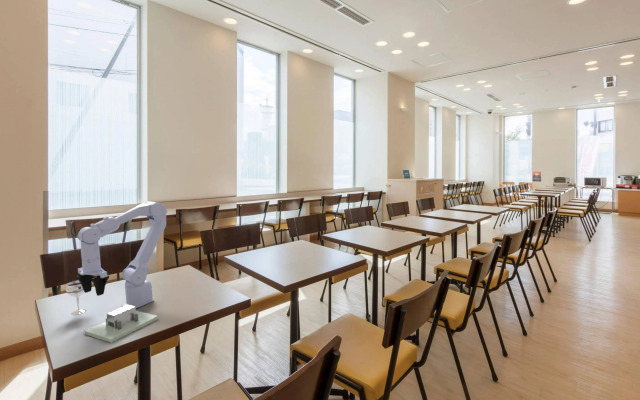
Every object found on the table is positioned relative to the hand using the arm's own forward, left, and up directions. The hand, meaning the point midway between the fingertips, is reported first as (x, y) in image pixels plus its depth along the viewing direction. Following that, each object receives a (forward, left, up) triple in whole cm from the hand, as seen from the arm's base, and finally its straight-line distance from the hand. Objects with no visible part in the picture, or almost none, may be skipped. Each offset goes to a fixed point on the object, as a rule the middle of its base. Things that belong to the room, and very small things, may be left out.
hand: (94, 293), depth 126 cm
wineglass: (0, -11, -10) cm, 15 cm away
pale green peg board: (+1, +17, -9) cm, 19 cm away
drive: (+1, +17, -8) cm, 19 cm away
